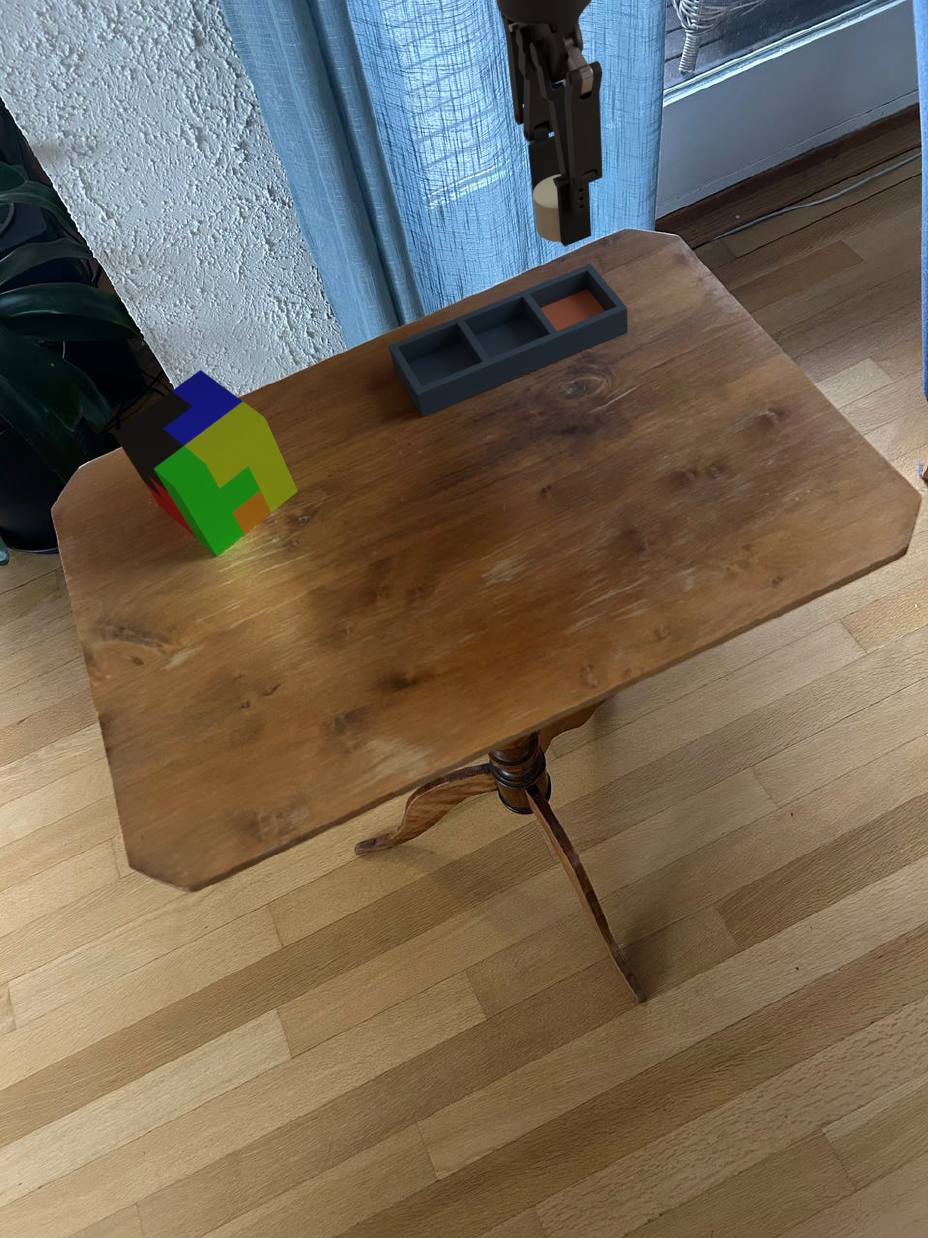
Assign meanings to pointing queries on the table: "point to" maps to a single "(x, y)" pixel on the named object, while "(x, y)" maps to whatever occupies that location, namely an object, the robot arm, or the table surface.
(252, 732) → the table surface
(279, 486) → the puzzle toy
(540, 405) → the table surface
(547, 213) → the cylinder
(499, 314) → the grid
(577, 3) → the robot arm
